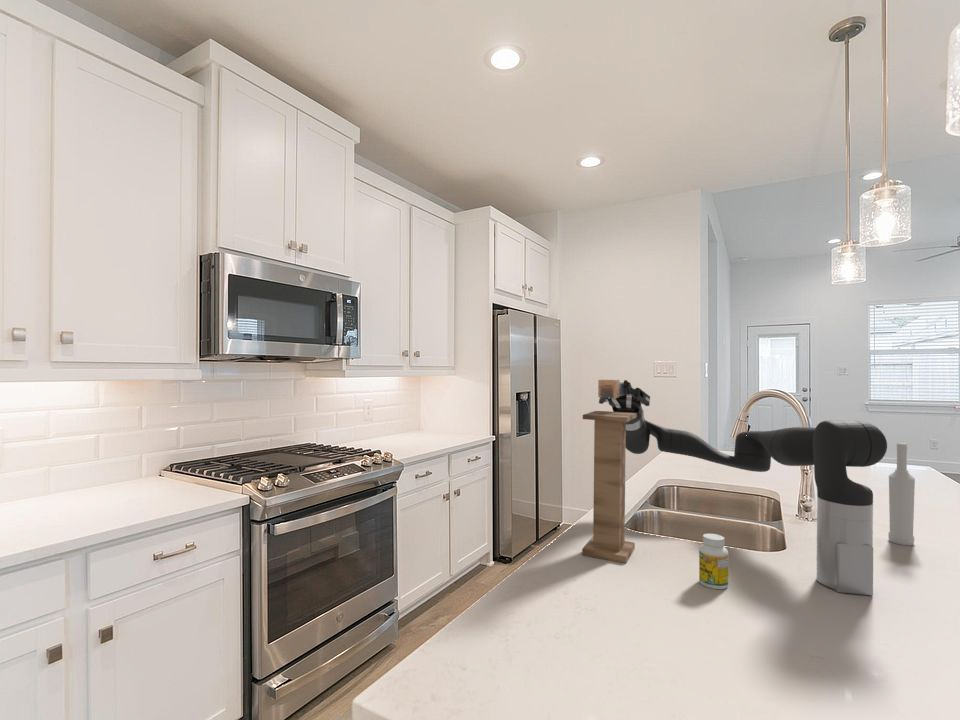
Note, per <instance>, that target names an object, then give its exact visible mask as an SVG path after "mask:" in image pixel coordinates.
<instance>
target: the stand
mask: <svg viewBox="0 0 960 720" xmlns="http://www.w3.org/2000/svg"><path fill="white" fill-rule="evenodd" d="M636 417H637V413H627V412H613V411H606V410H594V411H590V412H587V413H584V414H582V420H592V421H594V439H593V440H594V441H593V443H594V444H593V445H594V446H593V450H594V451H593V510H592V511H593V515H592V516H593V517H592V518H593V523H592V524H593V526H592V532H593V533H592V534H593V535H592V537H591V538H590V539H589V540H588V541H587V542H586V543H585V545H584V546H583V547H582V550H581V554H582V556H586V557H592V558H596V559H602V560H607V561H610V562H611V561H612V562H617V563H623V564H627V563H628V562H629V560H630V558H631V556H632V555H633V552H634V550H635V549H636V548H635V545H636V542H632V541H627V540H625V538H626V537H625V536H626V535H625V534H626V533H625V530H626V529H625V528H626V527H625V525H626V523H625V521H626V516H625V515H626V450H627V449H626V422H628V421H630V420H632V419H634V418H636Z"/></svg>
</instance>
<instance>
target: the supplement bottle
mask: <svg viewBox="0 0 960 720" xmlns="http://www.w3.org/2000/svg"><path fill="white" fill-rule="evenodd" d="M725 540H726V539H725V537H724V536H722V535H720V534H717V533H703V534H702V542H703V543H702V544H701V545H700V546H699V550H698V554H699V559H698V560H699V562H698V563H699V565H698V566H699V568H698V570H699V571H698V573H699V575H698V578H699V582H700V584H701V585H703V586H705V587H706V588H708V589H713V590H725V589H727V588H728V587H729V550H728V549H727V548H726V547H725V543H726V541H725Z"/></svg>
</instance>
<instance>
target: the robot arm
mask: <svg viewBox="0 0 960 720" xmlns="http://www.w3.org/2000/svg"><path fill="white" fill-rule="evenodd" d="M623 382H624V390H625V393H626V394H627V395H623V396H619V397H618V398H604V397H598V404H601V405H602V404H604V403H608V405H609V406H611V409H612V412H627V413H637V417H636V418H634V419H632V420H630V421H628V422H626V450H627V451H628V452H630V453H632V454H634V455H641V454H644V453H645V452H647V450H648V449H649V447H650V439H651V436H652V437H654V438H655V439H656V443H657V448H658V450H659V451H660V452H664V453H669V454H677V455H680V456H681V455H683V456H687V457H688V456H689V457H692V458H696V459H697V458H698V459H701V460H704V461H708V462H711V463H715V464H719V465H723V466H727V467H731V468H734V469H739V470H744V471H747V472H754V473H755V472H757V473H763V472H764V473H765V472H768V471H770V470H771V462H772V459H773V460H774V461H775V462H777V463H779V464H780V465H784V466H788V467H804V466H813V469H814V471H813V475H814V476H813V477H814V482H815V486H816V493H817V495H816V496H817V497H816V498H817V499H816V505H817V506H816V580H817V582H819V583H820V584H822V585H823V586H826V587H828V588H830V589H832V590H834V591H835V592H837V593H843V594H853V595H854V594H856V595H866V596H873V595H874V547H873V546H874V545H873V543H874V541H873V540H874V539H873V538H874V537H873V535H874V530H873V529H874V528H873V527H874V520H873V519H874V493H873V491H872V489H871V488H870V487H868V486H867V485H864V484H862V483H858V482H855V481H853V480H852V479H850V478H849V477H848V472H847V471H848V470H847V468H848V467H850V468H851V467H853V468H854V467H855V468H857V467H858V468H859V467H860V468H865V467H870V466H874V465H876V464H877V463H879V462H880V461H881V460H883V458H884V457H885V456H886V453H887V449H888V441H887V439H886V436H885V434H884V433H883V432H882V431H881V429H880V428H878V427H877V426H876V425H874V424H872V423H870V422H866V421H861V420H823V421H820V422H819V423H818V424H817V425H816V427H812V426H811V427H809V426H796V427H795V426H794V427H793V426H792V427H786V428H785V427H784V428H781V429H773V430H749V431H748V430H747V431H741V432H739V433H738V434H737V435H736V438H735V443H734V453H733V454H734V455H729V454H726V453H723V452H721V451H720V450H718V449H716V448H714V447H713V446H712V445H711V444H709V443H708V442H706V441H705V440H704V439H703V438H701V437H700V436H699V435H697V434H695V433H693V432H690V431H687V430H680V429H675V428H674V429H673V428H667V427H663V426H661V425H658V424H656V423H654V422H652V421H648V420H646V418H645V412H644V409H643V407H642V405H644V406H646V407H649V406H650V404H651V403H650V402H651V396H650V395H648V394H647V393H646V392H645V391H643V390H642V389H641V387H635V388H634V387H633V386H632V384H631V382H630V381H628V380H626V379H624V380H623ZM746 435H747V436H746Z"/></svg>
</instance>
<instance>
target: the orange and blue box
mask: <svg viewBox="0 0 960 720" xmlns="http://www.w3.org/2000/svg"><path fill="white" fill-rule="evenodd" d="M597 384H598V387H597V390H598V392H597V396H598V398H600V397H604V398H618V397H619V396H623V395H627V394H626V393H625V390H624V381H623V382H622V381H620V379H598V383H597Z"/></svg>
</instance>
